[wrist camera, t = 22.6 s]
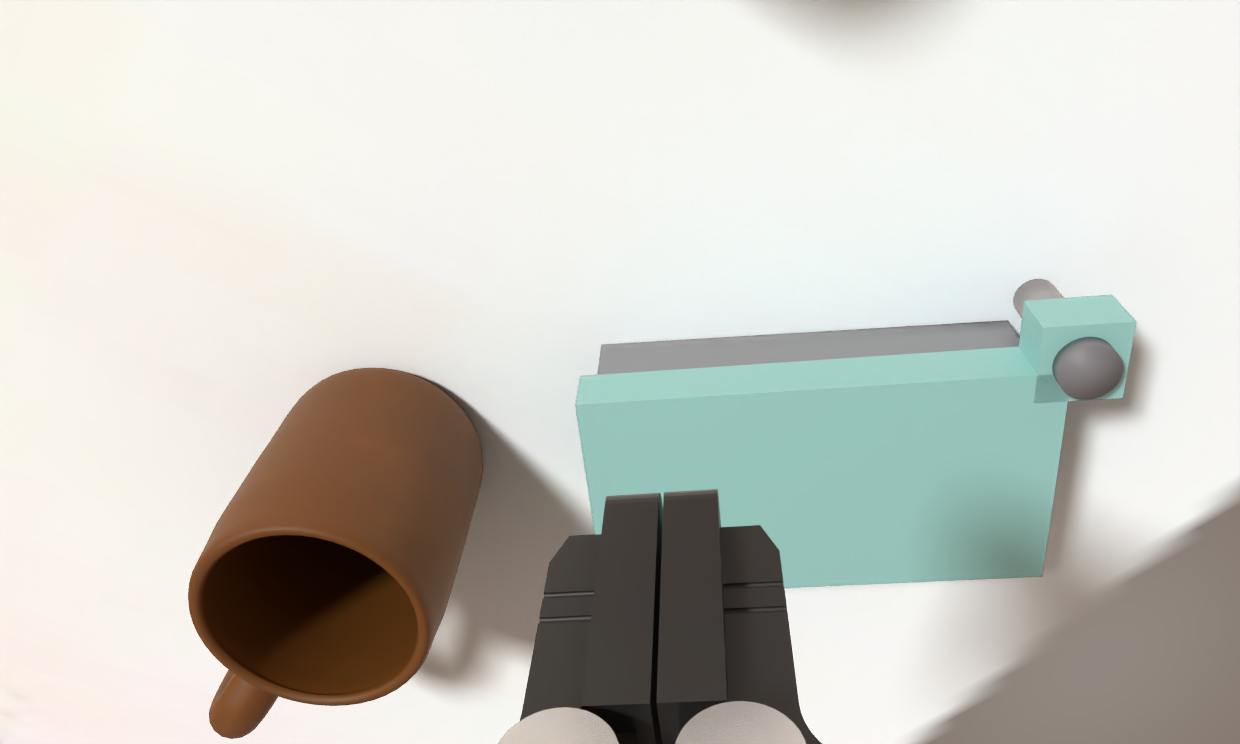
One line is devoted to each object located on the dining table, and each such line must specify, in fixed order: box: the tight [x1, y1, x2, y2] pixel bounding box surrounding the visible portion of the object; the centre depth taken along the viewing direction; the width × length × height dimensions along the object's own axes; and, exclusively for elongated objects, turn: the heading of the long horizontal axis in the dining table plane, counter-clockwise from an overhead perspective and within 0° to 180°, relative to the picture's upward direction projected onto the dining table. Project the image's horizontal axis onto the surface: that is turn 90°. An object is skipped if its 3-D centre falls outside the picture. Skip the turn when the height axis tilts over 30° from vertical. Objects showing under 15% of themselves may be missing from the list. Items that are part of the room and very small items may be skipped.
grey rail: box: [597, 279, 1063, 375], centre depth 34 cm, size 16×8×2 cm, turn 95°
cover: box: [575, 295, 1136, 588], centre depth 32 cm, size 17×10×2 cm, turn 96°
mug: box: [188, 368, 483, 739], centre depth 34 cm, size 12×8×9 cm, turn 145°
